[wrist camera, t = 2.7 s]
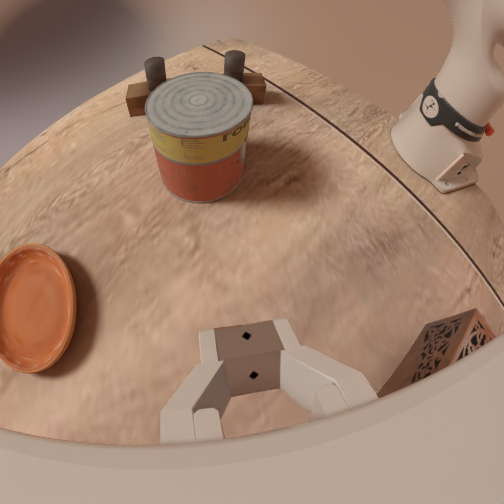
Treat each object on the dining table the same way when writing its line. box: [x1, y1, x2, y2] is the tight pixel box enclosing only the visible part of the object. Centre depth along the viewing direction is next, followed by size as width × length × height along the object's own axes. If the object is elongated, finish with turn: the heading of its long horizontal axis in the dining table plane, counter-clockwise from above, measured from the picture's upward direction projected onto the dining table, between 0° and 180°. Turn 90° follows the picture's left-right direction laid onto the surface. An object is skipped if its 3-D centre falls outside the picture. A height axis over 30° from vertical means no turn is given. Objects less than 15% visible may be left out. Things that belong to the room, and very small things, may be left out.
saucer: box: [0, 244, 77, 373], centre depth 27 cm, size 16×16×3 cm
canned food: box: [145, 72, 253, 203], centre depth 32 cm, size 11×11×12 cm
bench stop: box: [126, 50, 266, 117], centre depth 38 cm, size 22×4×9 cm, turn 100°
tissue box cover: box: [377, 308, 496, 398], centre depth 23 cm, size 26×14×10 cm, turn 133°
